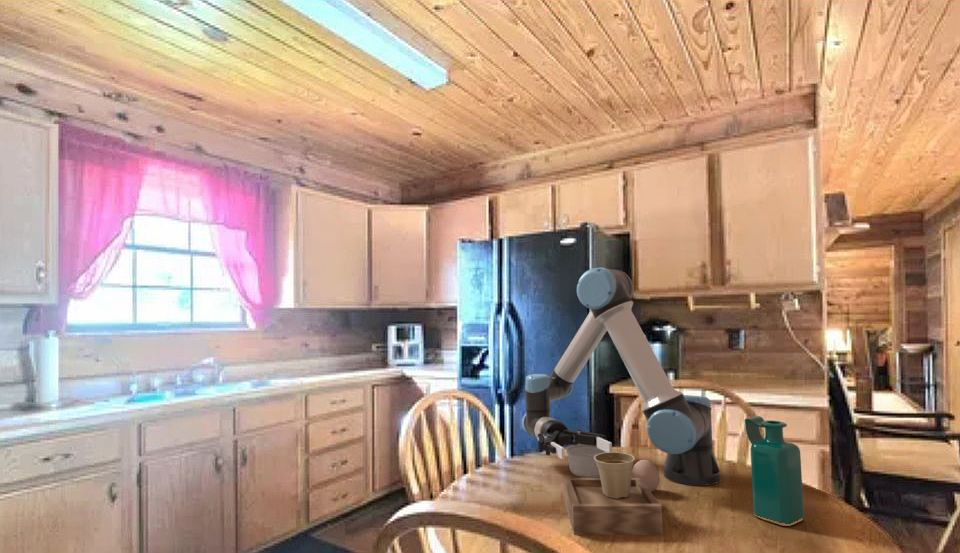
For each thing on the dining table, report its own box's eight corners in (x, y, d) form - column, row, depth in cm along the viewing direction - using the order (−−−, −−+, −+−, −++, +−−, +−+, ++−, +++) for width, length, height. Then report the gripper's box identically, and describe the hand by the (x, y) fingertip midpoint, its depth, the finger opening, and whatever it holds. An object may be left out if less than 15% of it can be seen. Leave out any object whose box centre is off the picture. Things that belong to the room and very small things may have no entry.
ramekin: (605, 465, 164) (605, 442, 164) (618, 479, 151) (617, 454, 151) (563, 466, 163) (562, 443, 164) (572, 480, 150) (571, 455, 151)
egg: (656, 498, 135) (654, 465, 135) (628, 494, 139) (626, 461, 139) (663, 490, 141) (661, 458, 141) (636, 486, 145) (635, 454, 145)
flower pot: (639, 502, 120) (637, 463, 121) (597, 501, 122) (594, 463, 122) (634, 487, 130) (632, 451, 130) (595, 487, 131) (593, 452, 132)
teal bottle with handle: (807, 520, 120) (802, 421, 121) (787, 529, 115) (782, 426, 116) (765, 507, 128) (760, 414, 129) (744, 515, 123) (739, 419, 125)
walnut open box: (640, 504, 133) (639, 477, 133) (662, 537, 114) (661, 506, 114) (564, 504, 134) (563, 477, 134) (573, 536, 115) (572, 506, 115)
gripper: (590, 441, 159) (630, 460, 139) (512, 449, 152) (542, 471, 131) (589, 416, 160) (629, 431, 139) (511, 423, 152) (542, 440, 132)
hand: (587, 450), depth 135 cm, fingers open, 13 cm apart
